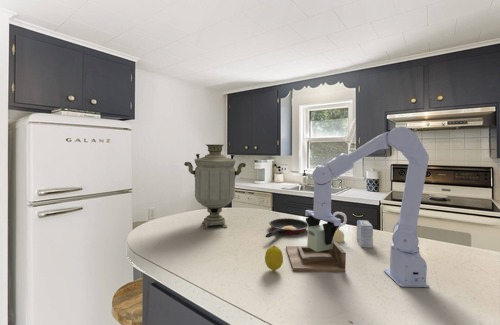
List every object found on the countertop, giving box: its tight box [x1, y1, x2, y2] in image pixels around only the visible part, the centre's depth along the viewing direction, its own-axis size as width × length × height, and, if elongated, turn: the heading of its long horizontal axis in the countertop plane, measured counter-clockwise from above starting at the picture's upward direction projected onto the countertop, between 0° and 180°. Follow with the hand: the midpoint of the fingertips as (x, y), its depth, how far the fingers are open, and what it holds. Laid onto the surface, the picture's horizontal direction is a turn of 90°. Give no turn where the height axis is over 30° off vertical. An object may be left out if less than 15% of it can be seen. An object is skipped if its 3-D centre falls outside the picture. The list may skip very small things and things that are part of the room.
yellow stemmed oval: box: [332, 211, 348, 243], centre depth 106 cm, size 6×5×12 cm
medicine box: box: [356, 219, 374, 249], centre depth 102 cm, size 8×4×9 cm, turn 168°
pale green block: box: [306, 224, 334, 252], centre depth 88 cm, size 5×8×7 cm, turn 113°
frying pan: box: [264, 217, 309, 238], centre depth 115 cm, size 19×32×4 cm, turn 149°
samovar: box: [184, 143, 247, 230], centre depth 128 cm, size 30×26×40 cm
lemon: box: [264, 245, 284, 272], centre depth 79 cm, size 6×6×8 cm
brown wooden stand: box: [285, 240, 347, 273], centre depth 88 cm, size 18×16×6 cm
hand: (321, 241), depth 88 cm, fingers open, 6 cm apart
